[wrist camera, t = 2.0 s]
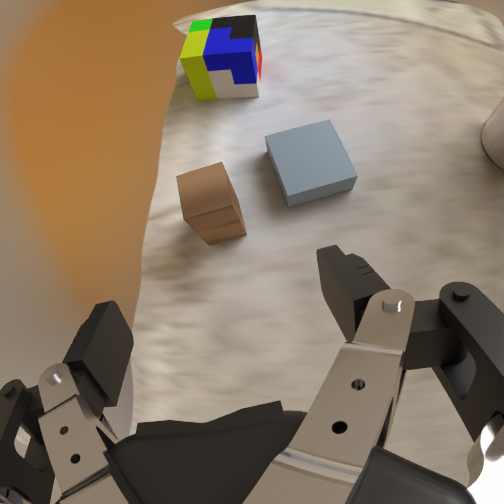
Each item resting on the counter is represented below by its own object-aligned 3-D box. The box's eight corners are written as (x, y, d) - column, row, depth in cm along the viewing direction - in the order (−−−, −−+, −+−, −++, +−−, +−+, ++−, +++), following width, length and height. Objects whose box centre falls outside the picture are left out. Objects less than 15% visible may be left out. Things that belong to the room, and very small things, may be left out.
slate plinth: (267, 152, 42) (265, 136, 39) (327, 136, 42) (329, 119, 38) (288, 208, 40) (287, 196, 36) (352, 189, 40) (357, 175, 36)
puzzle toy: (259, 97, 45) (251, 51, 35) (197, 101, 46) (179, 58, 36) (262, 58, 47) (255, 14, 37) (206, 61, 48) (192, 21, 39)
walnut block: (201, 210, 41) (176, 176, 32) (237, 199, 41) (222, 161, 31) (209, 245, 40) (183, 219, 30) (246, 234, 40) (232, 204, 30)
